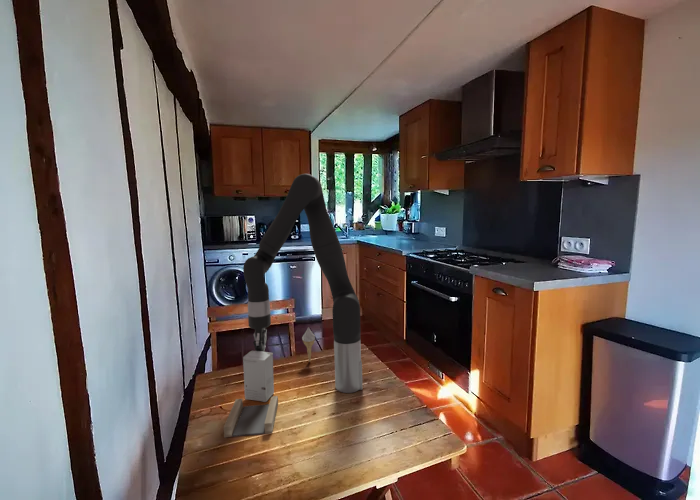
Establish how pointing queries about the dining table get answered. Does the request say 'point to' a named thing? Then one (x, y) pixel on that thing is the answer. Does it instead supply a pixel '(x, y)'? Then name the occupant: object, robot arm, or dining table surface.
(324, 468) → the dining table surface
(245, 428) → the rest
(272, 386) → the skincare box
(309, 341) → the ice cream cone
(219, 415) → the dining table surface
